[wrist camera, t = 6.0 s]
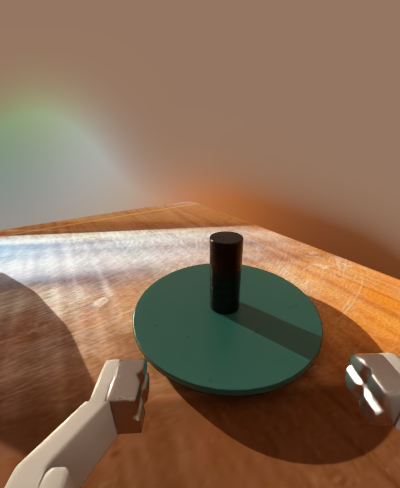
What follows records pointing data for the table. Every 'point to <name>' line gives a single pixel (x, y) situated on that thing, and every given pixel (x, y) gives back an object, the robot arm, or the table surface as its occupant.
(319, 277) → the table surface
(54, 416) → the table surface
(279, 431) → the table surface
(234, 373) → the lid
